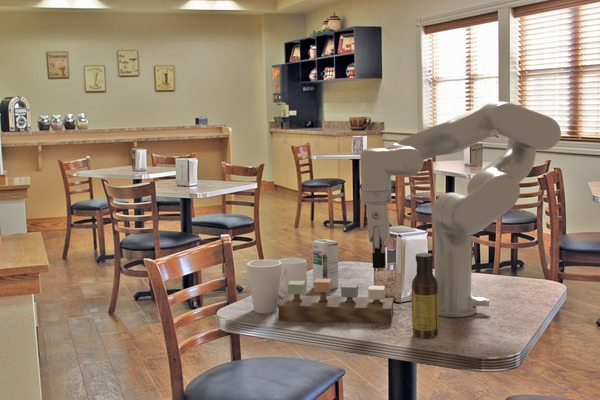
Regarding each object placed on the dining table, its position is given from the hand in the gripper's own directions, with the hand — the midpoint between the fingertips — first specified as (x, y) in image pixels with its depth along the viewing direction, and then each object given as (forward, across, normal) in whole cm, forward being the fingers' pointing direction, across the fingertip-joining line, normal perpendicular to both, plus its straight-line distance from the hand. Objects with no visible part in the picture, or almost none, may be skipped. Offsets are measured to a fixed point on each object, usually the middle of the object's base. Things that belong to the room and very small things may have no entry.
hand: (379, 267), depth 193 cm
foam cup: (+13, +4, +32) cm, 34 cm away
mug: (+13, +18, +28) cm, 35 cm away
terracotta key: (+9, 0, +15) cm, 17 cm away
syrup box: (+13, +29, +19) cm, 37 cm away
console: (+13, 0, +12) cm, 17 cm away
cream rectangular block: (+12, 0, +1) cm, 12 cm away
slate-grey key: (+11, 0, +8) cm, 14 cm away
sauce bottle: (+14, -13, -11) cm, 22 cm away
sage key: (+10, 0, +22) cm, 24 cm away
